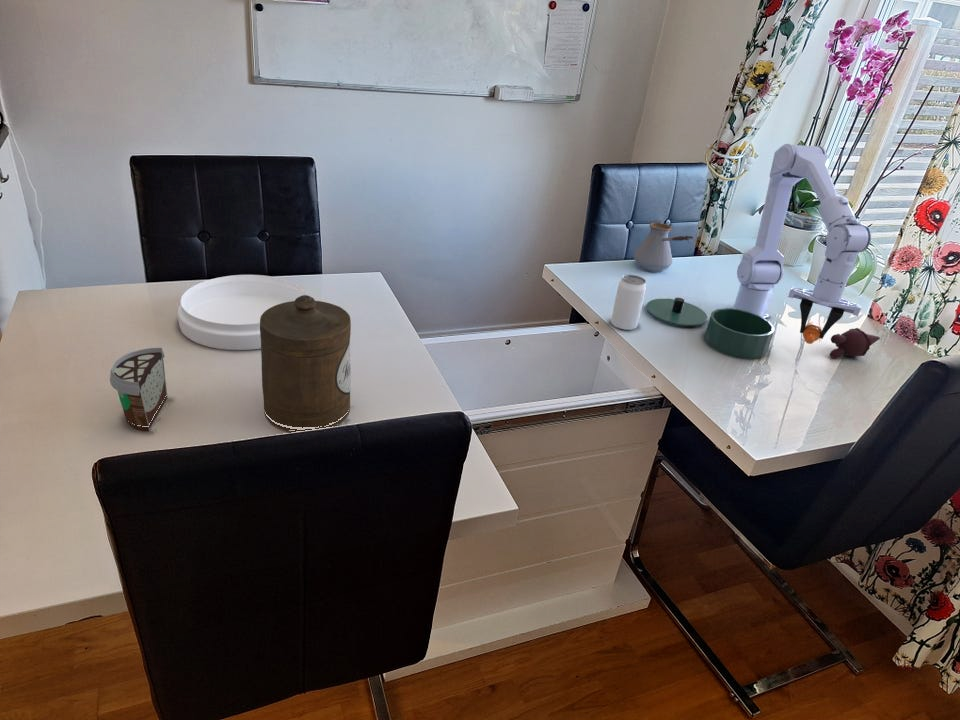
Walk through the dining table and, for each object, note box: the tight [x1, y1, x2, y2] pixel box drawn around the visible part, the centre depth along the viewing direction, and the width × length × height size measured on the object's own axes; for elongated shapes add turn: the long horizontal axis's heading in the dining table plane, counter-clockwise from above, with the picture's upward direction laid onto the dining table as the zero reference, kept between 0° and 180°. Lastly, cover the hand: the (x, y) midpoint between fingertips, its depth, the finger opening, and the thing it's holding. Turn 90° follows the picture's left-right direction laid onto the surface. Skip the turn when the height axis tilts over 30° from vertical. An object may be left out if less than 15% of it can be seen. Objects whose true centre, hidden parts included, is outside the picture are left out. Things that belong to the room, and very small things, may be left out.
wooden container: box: [260, 294, 352, 433], centre depth 113 cm, size 15×15×22 cm
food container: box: [109, 347, 169, 433], centre depth 110 cm, size 12×6×10 cm, turn 5°
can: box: [610, 274, 647, 331], centre depth 160 cm, size 6×6×12 cm
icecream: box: [829, 327, 881, 359], centre depth 159 cm, size 7×7×15 cm
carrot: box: [802, 321, 823, 345], centre depth 151 cm, size 10×4×4 cm
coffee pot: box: [633, 222, 696, 273], centre depth 193 cm, size 21×12×15 cm, turn 18°
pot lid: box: [645, 297, 708, 328], centre depth 170 cm, size 15×15×4 cm
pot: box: [704, 307, 775, 360], centre depth 158 cm, size 14×14×6 cm
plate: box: [177, 274, 306, 351], centre depth 144 cm, size 27×27×6 cm
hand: (811, 334), depth 151 cm, fingers closed on carrot, 3 cm apart
